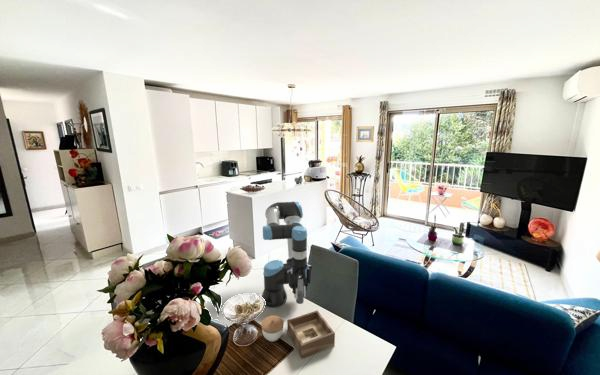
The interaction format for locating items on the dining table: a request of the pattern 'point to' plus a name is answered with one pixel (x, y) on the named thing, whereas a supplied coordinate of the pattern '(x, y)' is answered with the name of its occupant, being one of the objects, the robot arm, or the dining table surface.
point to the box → (307, 326)
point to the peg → (300, 290)
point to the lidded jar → (272, 328)
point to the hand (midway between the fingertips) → (299, 296)
